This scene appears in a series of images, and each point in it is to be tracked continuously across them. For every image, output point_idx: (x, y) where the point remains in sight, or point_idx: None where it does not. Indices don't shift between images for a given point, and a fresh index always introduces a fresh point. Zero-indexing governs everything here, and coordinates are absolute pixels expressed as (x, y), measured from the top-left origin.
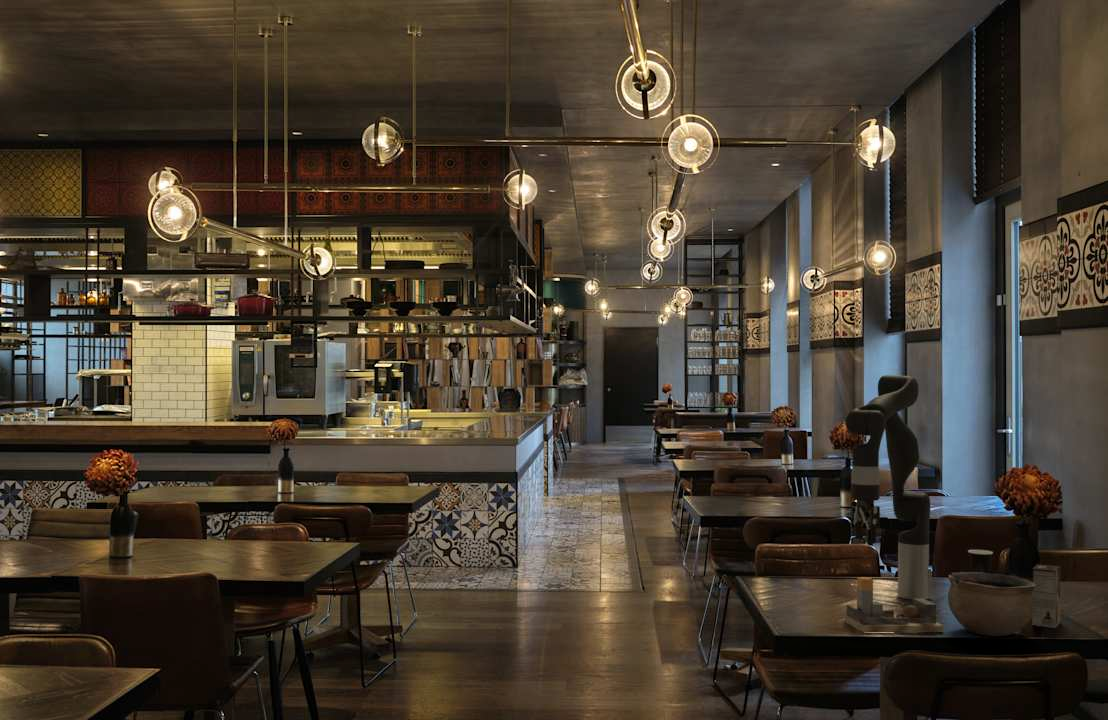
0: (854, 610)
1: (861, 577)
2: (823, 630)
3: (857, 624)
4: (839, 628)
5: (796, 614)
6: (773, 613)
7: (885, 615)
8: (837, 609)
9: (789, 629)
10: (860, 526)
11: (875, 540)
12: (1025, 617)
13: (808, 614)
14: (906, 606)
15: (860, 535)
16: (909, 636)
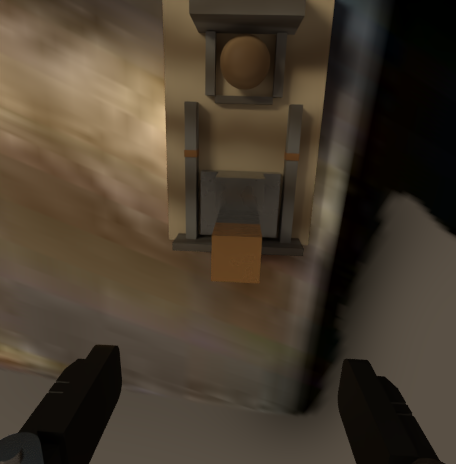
0: None
1: (217, 266)
2: (258, 318)
3: None
4: None
5: (92, 315)
6: None
7: (198, 132)
8: (22, 190)
9: (242, 381)
10: (70, 449)
11: (374, 373)
12: None
13: (90, 288)
14: (242, 74)
15: (109, 379)
16: (351, 131)
